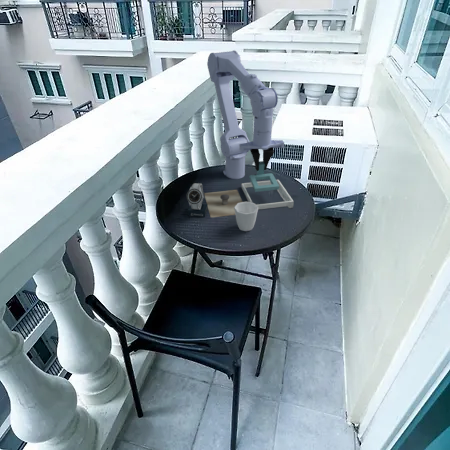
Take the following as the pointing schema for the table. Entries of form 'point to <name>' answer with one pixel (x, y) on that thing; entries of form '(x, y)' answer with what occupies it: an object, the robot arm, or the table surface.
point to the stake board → (218, 203)
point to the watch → (196, 201)
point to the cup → (246, 215)
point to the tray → (284, 195)
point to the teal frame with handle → (263, 176)
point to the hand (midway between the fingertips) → (260, 169)
